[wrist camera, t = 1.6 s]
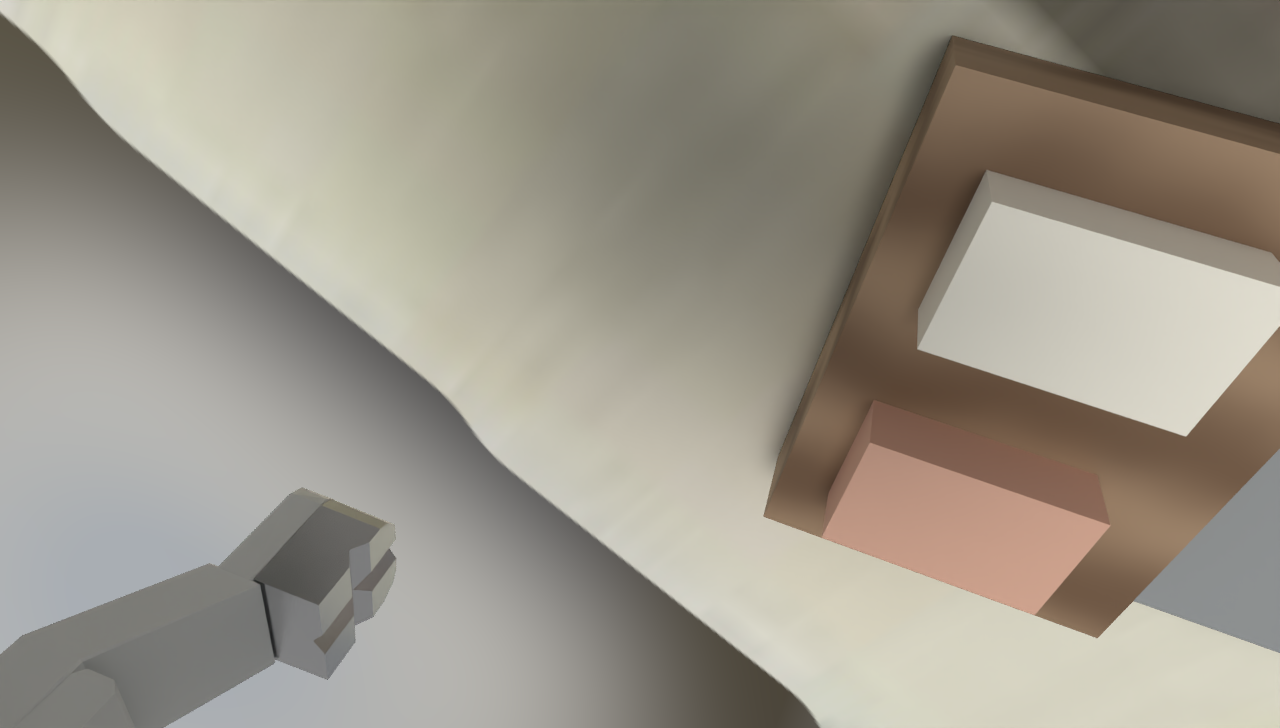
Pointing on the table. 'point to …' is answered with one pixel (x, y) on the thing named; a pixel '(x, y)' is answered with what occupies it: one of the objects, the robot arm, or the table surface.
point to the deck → (1012, 411)
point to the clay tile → (963, 508)
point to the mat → (1231, 567)
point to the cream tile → (1098, 303)
